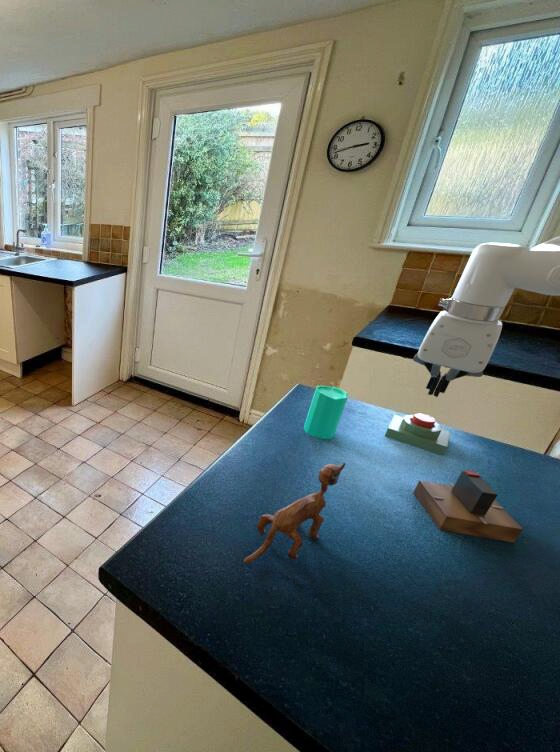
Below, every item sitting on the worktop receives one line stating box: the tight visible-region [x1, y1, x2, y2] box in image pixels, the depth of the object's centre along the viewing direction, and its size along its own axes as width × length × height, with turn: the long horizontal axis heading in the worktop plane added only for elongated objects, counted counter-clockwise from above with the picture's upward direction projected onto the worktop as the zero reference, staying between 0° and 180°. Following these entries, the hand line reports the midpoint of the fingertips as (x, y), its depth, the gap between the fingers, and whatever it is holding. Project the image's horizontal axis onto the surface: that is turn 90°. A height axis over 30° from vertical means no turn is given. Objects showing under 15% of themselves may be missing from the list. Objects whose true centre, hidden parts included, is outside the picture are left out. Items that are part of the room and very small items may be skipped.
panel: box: [412, 480, 523, 544], centre depth 71 cm, size 10×10×3 cm
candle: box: [303, 384, 349, 440], centre depth 92 cm, size 6×6×12 cm
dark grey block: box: [452, 469, 499, 515], centre depth 69 cm, size 6×2×5 cm, turn 165°
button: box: [411, 412, 436, 428], centre depth 90 cm, size 4×4×2 cm
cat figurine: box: [243, 462, 346, 565], centre depth 63 cm, size 18×7×14 cm, turn 118°
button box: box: [384, 414, 452, 456], centre depth 91 cm, size 10×8×4 cm
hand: (433, 393), depth 87 cm, fingers closed
